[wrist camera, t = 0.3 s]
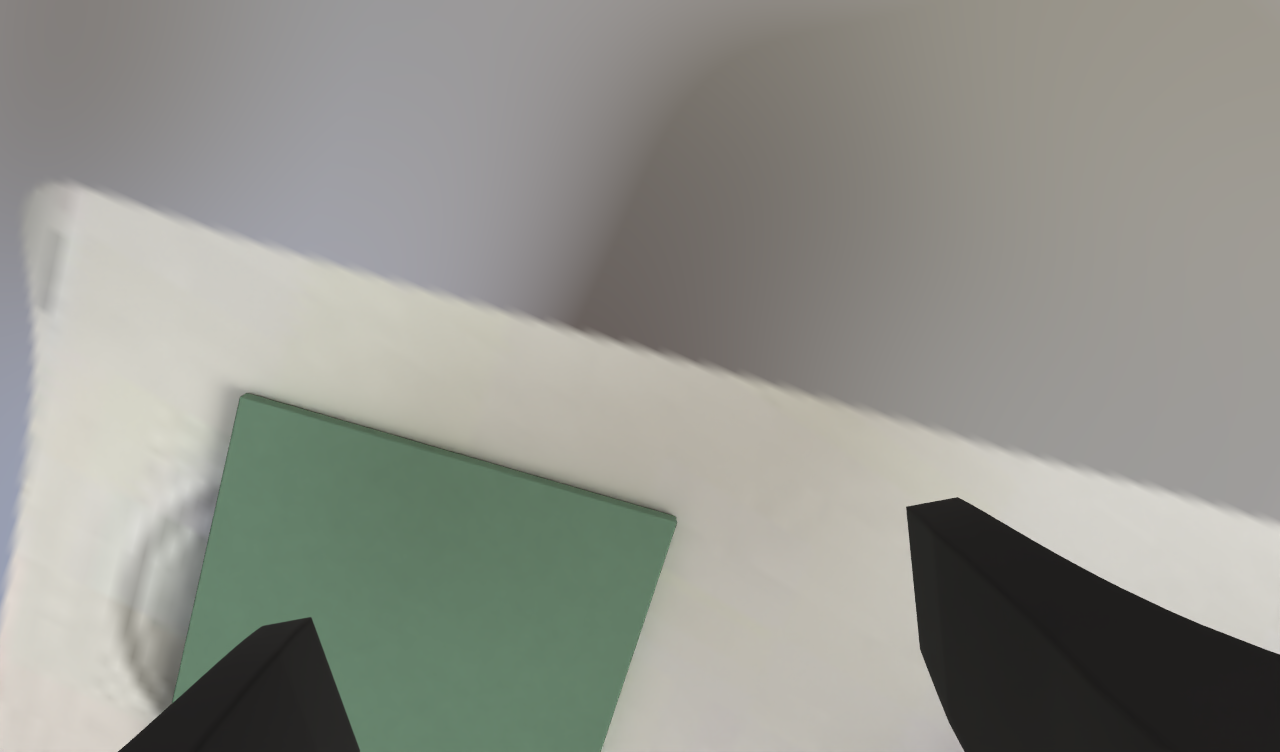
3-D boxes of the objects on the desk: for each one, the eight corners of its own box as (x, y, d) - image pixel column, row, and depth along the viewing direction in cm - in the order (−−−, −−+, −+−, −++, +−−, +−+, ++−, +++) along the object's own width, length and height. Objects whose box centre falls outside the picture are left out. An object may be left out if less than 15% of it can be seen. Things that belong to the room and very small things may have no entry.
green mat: (556, 876, 25) (555, 888, 24) (161, 774, 24) (152, 784, 24) (676, 516, 23) (677, 522, 22) (246, 391, 22) (239, 396, 22)
